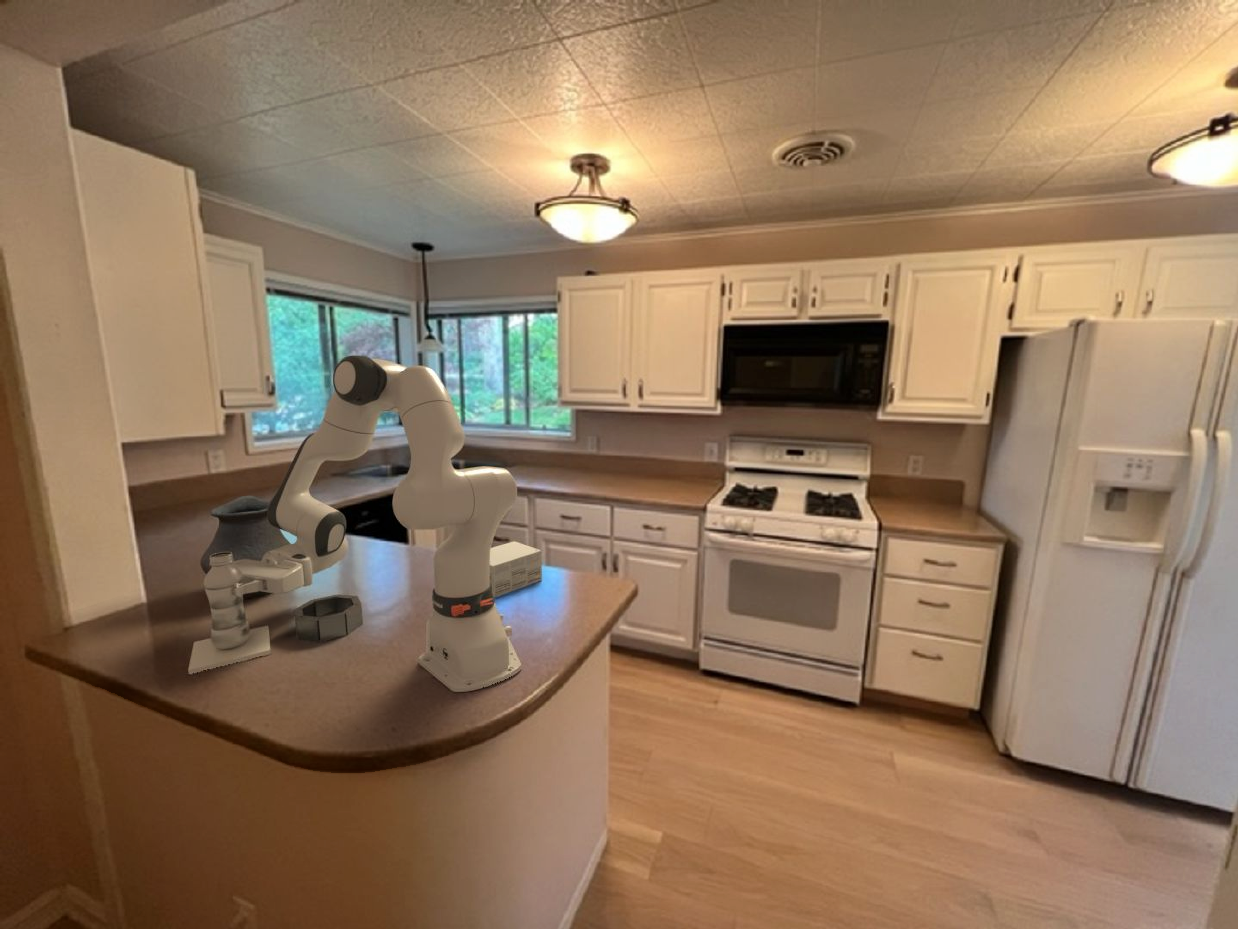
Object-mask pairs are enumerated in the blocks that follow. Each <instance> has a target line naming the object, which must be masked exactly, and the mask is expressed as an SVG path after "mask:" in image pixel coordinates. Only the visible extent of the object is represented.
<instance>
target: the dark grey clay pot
mask: <svg viewBox="0 0 1238 929" xmlns="http://www.w3.org/2000/svg"><path fill="white" fill-rule="evenodd" d="M270 501H271V500H264V499H261V498H258V497H257V496H254V495H244V496H240V497H237V498H235V499H233V500H231V501H229V502H227V503H225V504H222V505H220V506H218V507H214V508H213V509H211V510H210V515H211V517H215V518H218V521H219V522H218V526H217V529H216V532H215V534H214V537H213V540H212V541H211V543H210V544H209V546H208V547H207V548H206V550H205V551H204V553H203V554H202V556H201V558H200V561H199V562H200V563H199V564H200V567H201V569H202V571H203V573H204V574H206V575H207V573H208V572H209V571H210V569H211V568H212V566H210V556H211V555H213V554H216V553H220V552H232V555H233V559H234V561H236V560H242V559H250V560H257V561H261V560H262V558H263V556H264V555H265V553H267V552H268V551H271V550H274V549H277V548H280V547H283V546H286V545H290V544H292V543H291V542H290V541H289V540H288V539H287V538H286V537H285V535H284V534H283V532H282V530H281V529H279V528H276V527H274V526H272V525H271V524H270V523H269V521H268V518H267V508H268V505H269V503H270ZM264 594H268V592H262V591H258V592H252V593H245V594H243V600H244V599H249V598H253V597H258V596H261V595H264Z"/></svg>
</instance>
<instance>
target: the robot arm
mask: <svg viewBox="0 0 1238 929" xmlns="http://www.w3.org/2000/svg"><path fill="white" fill-rule="evenodd" d="M332 383H333V388H334V391H333V393H332V395H331V397H330V399H329V401H328V404H327V406H326V408H325V412H324V414H323V417H322V418H323V419H322V422H321V424H320V425H319V427H318V429H317V430H316V432H314V433H310V434H309V435H308V436H306V437H305V438H304V439H303V441H302V443H301V444H300V446H299V448H298V449H297V451H296V454H295V455H294V458H293V460H292V462H291V463H290V466H289V467H288V468H289V469H288V470H287V472H286V474H285V476H284V479H283V480H282V482H281V485H280V487H279V489H278V490H277V492H276V493H275V494H274V496H273V497H272V498H271V499H270V500H269V501H270V503H269V505H268V508H267V518H268V521H269V523H270V524H271V525H272V526H274V527H276V528H279V529H280V530H281V531H284V532H287V533H289V534H291V535H292V536H295V537H296V541H295V542H293V543H291V544H290V545H286V546H283V547H280V548H277V549H274V550H271V551H268V552H267V553H265V555H264V556H263V558H262V560H261V561H257V560H250V559H242V560H236V561H233V562H232V564H233V565H234V566H236V567H237V568H238V569H239V570H240V571H241V572H242V574H243V585H240V584H239V585H237V586H235V587H233V588H232V589H231V591H232V595H236V596H240V595H243V594H245V593H252V592H258V591H262V592H268V593H270V594H276V595H280V594H281V595H282V594H287V593H290V592H294V591H295V590H298V589H300V588H303V587H307V586H311V585H312V584H313V583H314V582H313V575H314V574H318V573H320V572H322V571H325V570H327V569H330V568H331V567H333V566H335V565H336V564H338V563H339V562H340V561H341V560H343V559H344V558H345V557H346V555H347V552H348V549H349V543H348V539H347V538H346V532H347V520H346V516H345V515H344V513H343V512H341V511H340V510H338V509H335V508H334V507H332V506H331V505H328V504H327V503H323V502H321V501H320V500H318V499H316V498H314V497H313V496H312V495H311V493H310V487H311V486H312V483H313V480H314V479H315V477H316V475H317V472H319V471H318V470H319V469H320V467H321V465H322V464H324V462H326V461H334V462H335V461H336V462H337V461H338V462H340V461H341V462H342V461H343V462H344V461H351V460H355V459H359V458H360V457H362V456H363V455H364V454H365V453H367V452H368V450H369V449H370V447H371V445H372V442H373V439H374V436H375V432H376V430H377V425H378V422H379V418H380V416H381V415H382V413H384V412H389V413H395V414H397V413H398V416H399V418H400V421H401V424H402V426H403V430H404V434H405V435H406V438H407V442H408V446H409V450H410V451H409V452H410V466H409V469H408V471H407V473H406V475H405V477H404V478H403V479H402V480H401V481H400V483H399V484H398V485H397V487H396V488H395V490H394V492H393V496H392V510H393V514H394V516H395V517H396V519H397V520H398V522H399V523H400V524H401V525H402V526H403V527H404V528H406V529H407V530H410V531H419V530H420V531H431V530H432V531H433V530H438V529H443V528H448V527H453V526H454V527H453V530H452V531H451V533H450V535H449V536H448V537H447V538H446V539H445V540H444V541H443V542H441V543H440V544H439V546H437V548H436V550H435V551H434V554H433V558H432V565H433V566H432V567H433V584H434V585H433V586H434V588H433V589H432V595H431V602H432V608H433V611H432V613H431V615H430V616H429V617H428V619H427V621H426V623H425V624H426V626H425V628H426V629H425V652H423V653H422V654H420V656H419V657H418V664H419V665H420V666H421V667H422V668H423V669H425V670H426V671H427V672H428V673H430V674H431V675H432V676H433V677H435V679H437V680H438V681H440V682H441V683H442V684H443V685H444V686H445V687H447V688H448V689H449V690H450V691H451V692H454V693H462V692H471V691H476V690H480V689H483V687H484V688H486V687H490V686H493V685H495V683H496V684H498V683H501V682H503V681H506V680H508V679H509V677H510V678H512V677H513V676H514V675H516V674H518V673H519V672H520V671H521V670H522V663H521V661H520V659H519V655H518V654H517V652H516V650H515V648H514V646H513V644H512V642H511V640H510V638H511V637H512V636H513V629H512V626H511V625H505V626H504V624H503V621H504V614H503V613H499V611H498V609H497V608H498V607H497V604H496V602H495V598H494V593H493V589H492V584H491V583H490V550H491V548H492V544H493V541H494V537H495V534H496V533H497V532H496V531H497V529H498V526H499V525H500V523H501V522H502V520H503V518H504V516H506V514H507V513H508V511H510V510H511V509H512V507H513V506H514V505H515V503H516V500H517V496H518V485H517V482H516V480H515V478H514V476H513V475H512V474H511V472H510V471H509V470H508V469H506V468H503V467H495V466H482V465H481V466H475V467H468V468H461V469H456V468H454V466H453V463H452V458H454V456H456V455H457V454H458V453H459V452H460V451H461V450H462V449H463V447H464V445H465V440H466V433H465V430H464V429H463V426H462V423H461V420H460V417H459V416H458V413H457V411H456V408H455V405H454V403H453V401H452V398H451V396H450V394H449V392H448V390H447V388H446V386H445V385H444V383H443V381H442V379H441V378H440V377H439V375H438V374H437V372H436V371H434V370H433V369H432V368H430V367H428V366H426V365H413V366H405V365H403V364H399V363H396V362H394V361H390V360H386V359H380V358H371V357H368V356H366V355H347V356H346V357H343V358H342V359H341V360H340V361H339V362H338V363H337V364H336V366H335V369H334V370H333V376H332ZM268 593H267V594H268ZM511 676H512V677H511ZM505 679H506V680H505ZM500 681H501V682H500ZM497 682H498V683H497ZM492 684H493V685H492Z"/></svg>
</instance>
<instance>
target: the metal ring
mask: <svg viewBox="0 0 1238 929" xmlns="http://www.w3.org/2000/svg"><path fill="white" fill-rule="evenodd" d="M362 607H363V606H362V602H361V600H360V598H359V596H358V595H350V594H334V595H333V594H332V595H328V596H322V597H319V598H314V599H310V600H308V601H306V602H305V603H303V604H302V605H300V606H298V607H296V608H295V609H293V612H294V615H293V616H294V625H295V626H294V627H295V634H296V638H297V640H298V641H308V642H315V643H319V642H325V641H329V640H332V639H338V638H340V637H345V636H347V635H350V634H351V633H353V632H354V631H355V630H356V629H358V628H359V627H361V626H362V625H363V624H364V623H363V622H364V620H363V619H364V618H363V608H362Z"/></svg>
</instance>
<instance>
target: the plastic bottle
mask: <svg viewBox="0 0 1238 929" xmlns="http://www.w3.org/2000/svg"><path fill="white" fill-rule="evenodd" d="M233 561H234V559H233V555H232V552H220V553H216V554H213V555H211V556H210V566H212V568H211V569H210V571H209V572H208V573H207V574H206V575H205V576H204V579H203V583H202V585H203V588H204V591H205V594H206V596H207V597H206V598H207V599H208V603H209V604H208V605H209V607H210V614H211V630H210V638H211V642H212V644H213V646H214V647H215V648H217V649H221V650H224V649H230V648H234V647H237V646H240V645H242V644H243V643H245V642H246V641H247V640H248V638H249V636H250V629H251V627H250V624H249V621H248V620H247V616H246V612H245V611H246V610H245V607H244V599H243V595H240V596H236V595H232V591H231V589H232V588H233V587H235V586H237V585H239V584H240V585H243V574H242V572H241V571H240V570H239V569H238V568H237V567H236V566H234V565H233V564H232V562H233Z"/></svg>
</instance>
